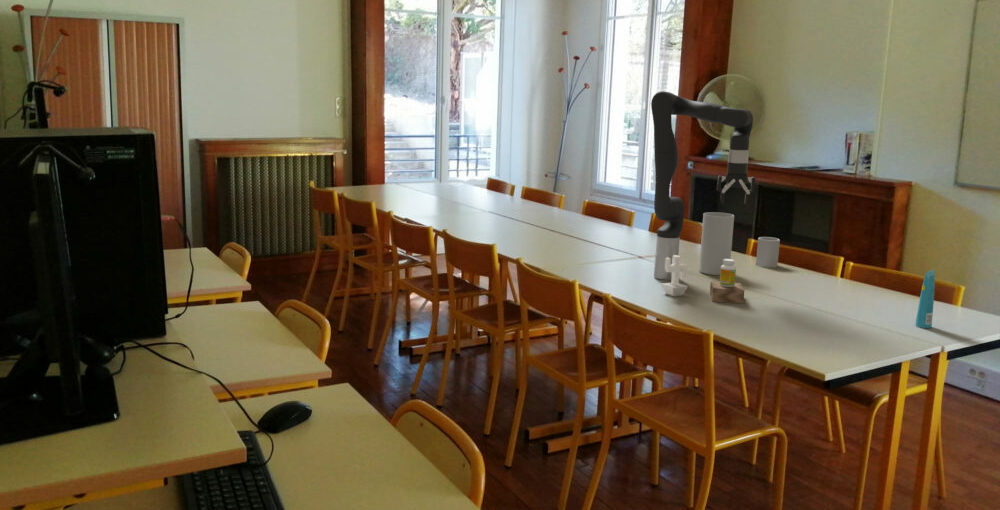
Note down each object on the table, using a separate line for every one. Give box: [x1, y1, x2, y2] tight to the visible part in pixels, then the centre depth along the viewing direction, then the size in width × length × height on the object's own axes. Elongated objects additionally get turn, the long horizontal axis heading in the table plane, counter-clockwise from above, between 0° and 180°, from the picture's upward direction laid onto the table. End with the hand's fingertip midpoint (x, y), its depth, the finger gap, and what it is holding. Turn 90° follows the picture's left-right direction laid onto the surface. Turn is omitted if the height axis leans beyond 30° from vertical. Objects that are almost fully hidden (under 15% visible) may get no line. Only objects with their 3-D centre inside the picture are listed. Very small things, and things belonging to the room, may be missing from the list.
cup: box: [755, 236, 781, 269], centre depth 370 cm, size 9×9×12 cm
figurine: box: [661, 255, 689, 297], centre depth 313 cm, size 7×9×15 cm
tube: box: [915, 269, 936, 329], centre depth 277 cm, size 7×5×19 cm, turn 140°
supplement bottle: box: [719, 258, 737, 287], centre depth 308 cm, size 5×5×10 cm
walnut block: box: [709, 281, 745, 304], centre depth 309 cm, size 11×11×5 cm
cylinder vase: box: [698, 211, 735, 277], centre depth 351 cm, size 12×12×25 cm
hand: (734, 203), depth 324 cm, fingers open, 8 cm apart
